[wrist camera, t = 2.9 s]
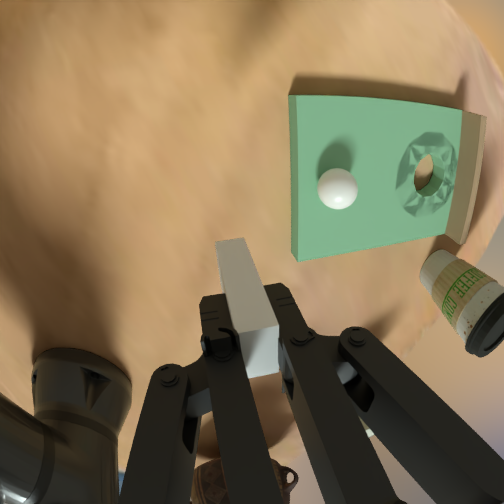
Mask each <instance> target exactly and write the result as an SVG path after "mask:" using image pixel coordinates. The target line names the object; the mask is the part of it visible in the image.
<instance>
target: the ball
mask: <svg viewBox="0 0 504 504" xmlns="http://www.w3.org/2000/svg"><path fill="white" fill-rule="evenodd" d="M317 192H318V196H319V198H320V200H321V201H322V202H323V203H324V204H325V205H326V206H328V207H330V208H332V209H344V208H347V207H348V206H350V205H351V204H352V203H353V202H354V201H355V199H356V197H357V194H358V185H357V182H356V179H355V178H354V176H353V175H352V174H351V173H350V172H348V171H346V170H344V169H340V168H334V169H330V170H328V171H326V172H325V173H323V174H322V176H321V177H320V179H319V181H318V184H317Z"/></svg>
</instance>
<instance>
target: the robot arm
mask: <svg viewBox="0 0 504 504" xmlns="http://www.w3.org/2000/svg"><path fill="white" fill-rule="evenodd" d="M215 246H216V254H217V261H218V268H219V275H220V282H221V288H222V292H223V293H222V294H216V295H210V296H204V297H203V298H202V300H201V302H200V304H199V308H200V317H201V325H202V333H203V334H202V336H201V341H200V342H201V346H202V350H203V354H202V355H201V357H200V358H199V359H198V360H197V361H196V362H194V363H192V364H190V365H188V366H185V367H181V366H180V365H177V364H165V365H163V366H161V367H159V368H158V369H156V370H155V371H154V373H153V375H152V376H151V379H150V383H149V386H148V389H147V393H146V396H145V400H144V403H143V407H142V410H141V414H140V417H139V421H138V425H137V428H136V432H135V436H134V440H133V444H132V447H131V451H130V455H129V459H128V463H127V467H126V471H125V475H124V480H123V484H122V488H121V493H120V495H119V477H118V436H119V433H120V431H121V429H122V426H123V424H124V422H125V419H126V417H127V415H128V412H129V410H130V408H131V403H132V387H131V384H130V381H129V380H128V378H127V377H126V375H125V374H124V373H123V372H122V371H121V370H120V369H119V368H117V367H116V366H115V365H113V364H112V363H110V362H109V361H107V360H105V359H103V358H101V357H99V356H97V355H94V354H92V353H89V352H86V351H82V350H77V349H71V348H55V349H51V350H47V351H45V352H43V353H42V354H40V355H39V356H38V358H37V359H36V362H35V365H34V368H33V371H32V377H31V380H32V394H33V404H34V416H32V415H31V414H29V413H28V412H26V411H25V410H23V409H22V408H21V407H19V406H18V405H16V404H15V403H14V402H12V401H11V400H10V399H8V398H7V397H6V396H4V395H3V394H2V393H0V504H3V503H7V504H190V497H191V490H192V482H193V475H194V467H195V460H196V453H197V446H198V439H199V432H200V425H201V418H202V415H204V414H206V413H208V412H210V411H213V417H214V423H215V429H216V434H217V440H218V445H219V451H220V456H221V461H222V466H223V471H224V476H225V481H226V486H227V491H228V495H229V500H230V504H284V502H283V498H282V495H281V492H280V489H279V485H278V482H277V479H276V475H275V472H274V469H273V465H272V462H271V458H270V455H269V451H268V448H267V444H266V441H265V437H264V434H263V430H262V427H261V423H260V420H259V416H258V412H257V409H256V405H255V401H254V398H253V394H252V390H251V387H250V383H249V379H248V378H253V377H258V376H263V375H268V374H273V373H277V372H279V367H280V370H281V372H282V393H285V392H286V395H287V398H288V401H289V403H290V406H291V409H292V412H293V415H294V418H295V421H296V423H297V426H298V429H299V432H300V435H301V437H302V440H303V443H304V446H305V449H306V452H307V454H308V457H309V460H310V463H311V465H312V468H313V471H314V474H315V476H316V479H317V482H318V485H319V488H320V490H321V493H322V496H323V499H324V501H325V504H407V503H406V502H404V501H402V500H400V499H399V498H398V497H397V496H396V494H395V491H394V489H393V487H392V485H391V483H390V481H389V479H388V477H387V474H386V472H385V470H384V468H383V466H382V464H381V462H380V460H379V458H378V456H377V454H376V451H375V449H374V447H373V445H372V443H371V441H370V439H369V437H368V435H367V433H366V431H365V429H364V427H363V424H362V422H361V420H360V418H361V419H362V421H363V422H364V423H365V424H366V425H367V426H368V427H369V429H370V430H371V431H372V432H373V433H374V434H375V436H376V437H377V438H378V439H379V440H380V441H381V442H382V443H383V445H384V446H385V447H386V448H387V449H388V450H389V451H390V453H392V455H393V456H394V457H395V458H396V459H397V461H399V463H400V464H401V465H402V466H403V467H404V468H405V470H407V472H408V473H409V474H410V475H411V476H412V477H413V478H414V479H415V481H416V482H418V484H419V485H420V486H421V487H422V488H423V490H424V491H425V492H426V493H427V494H428V495H429V496H430V497H431V498H432V499H433V500H434V502H435V503H436V504H504V460H503V459H502V458H501V457H500V456H499V455H498V454H497V453H496V452H495V451H494V450H493V449H492V448H491V447H490V446H489V445H488V444H487V443H486V442H485V441H484V440H483V439H482V438H481V437H480V436H479V435H478V434H477V433H476V432H475V431H474V430H473V429H472V428H471V427H470V426H469V425H468V424H467V423H466V422H465V421H464V420H463V419H462V418H461V417H460V416H459V415H458V414H456V413H455V412H454V411H453V410H452V409H451V408H450V407H449V406H448V405H447V404H446V403H445V402H444V401H443V400H442V399H441V398H440V397H439V396H438V395H437V394H436V393H435V392H434V391H432V390H431V389H430V388H429V387H428V386H427V385H426V384H425V383H424V382H423V381H422V380H421V379H420V378H419V377H418V376H417V375H416V374H415V373H414V372H413V371H411V370H410V369H409V368H408V367H407V366H406V365H405V364H404V363H403V362H402V361H401V360H400V359H399V358H398V357H397V356H396V355H394V354H393V353H392V352H391V351H390V350H389V349H388V348H387V347H386V346H385V345H384V344H383V343H382V342H380V341H379V340H378V339H377V338H376V337H375V336H374V335H373V334H372V333H371V332H370V331H368V330H366V329H365V328H362V327H349V328H346V329H345V330H344V331H342V333H341V335H340V336H322V335H319V334H317V333H316V332H315V331H314V330H313V329H311V328H309V327H308V326H307V324H306V322H305V320H304V318H303V316H302V314H301V312H300V310H299V308H298V306H297V304H296V302H295V300H294V298H293V296H292V294H291V292H290V290H289V288H287V287H286V286H285V285H283V284H282V283H276V284H270V285H265V286H263V284H262V282H261V279H260V277H259V274H258V272H257V269H256V267H255V264H254V262H253V259H252V257H251V254H250V252H249V249H248V247H247V244H246V242H245V239H244V238H237V239H231V240H224V241H218V242H215ZM359 417H360V418H359Z"/></svg>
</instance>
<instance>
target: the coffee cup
mask: <svg viewBox="0 0 504 504" xmlns="http://www.w3.org/2000/svg"><path fill="white" fill-rule="evenodd" d="M420 281H421V283H422V284H423V285H424V287H425V288H426V289H427V291H428V292H429V293H430V295H431V296H432V299H433V300H434V302H435V303H436V304H437V306H438V307H439V309H440V310H441V311H442V313H443V314H444V316H445V317H446V318H447V320H448V321H449V323H450V324H451V326H452V327H453V329H454V330H455V331H456V333H457V334H459V335H460V336H461V338H462V339H463V341H464V343H465V344H466V345H465V349H466V351H467V352H469V353H470V354H475V355H476V356H478V357H484V356H486V355H488V354H489V353H490V352H492V351H493V350H494V349H495V348H496V347H497V346H498V345H499V344H500V343H501V342H502V341H503V340H504V287H503V286H501V285H500V284H498V282H497V281H496V280H494V279H493V278H491V277H490V276H488V275H487V274H485V273H483V272H482V271H480V270H479V269H477V268H476V267H474V266H472V265H471V264H469V263H467V262H466V261H464V260H462V259H459V258H458V257H456V256H454V255H453V254H451V253H449V252H448V251H446V250H442V249H441V250H438V251H436V252H434V253H433V254H431V255H430V256H429V257H428V259H427V260H426V261H425V263H424V265H423V266H422V269H421V272H420Z"/></svg>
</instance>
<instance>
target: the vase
mask: <svg viewBox="0 0 504 504" xmlns="http://www.w3.org/2000/svg"><path fill="white" fill-rule="evenodd" d="M271 462H272V465H273V469H274V472H275V475H276V479H277V482H278V485H279V489H280V492H281V495H282V498H283V502H284V504H289V503H290V502H289V501H290V492H291V491H292V489H293V488H294V487H295V485H296V484H297V482H298V475H297V473H296V472H295V471H293V470H292V469H291V468H289V467H286V466H281V465H280V464H279V463H278V462H277V461H276V460H274V459H271ZM289 472H291V473H293V475H294V480H293V481H292V482H291V483H287V474H288V473H289ZM191 500H192V501H190V504H230V500H229V495H228V491H227V486H226V481H225V476H224V471H223V466H222V461H221V457H220V458H217V459H214V460H211V461H209V462H206V463H204V464H202V465H200V466H198V467H197V468H196V469H195V470H194V475H193V482H192V490H191Z"/></svg>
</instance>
